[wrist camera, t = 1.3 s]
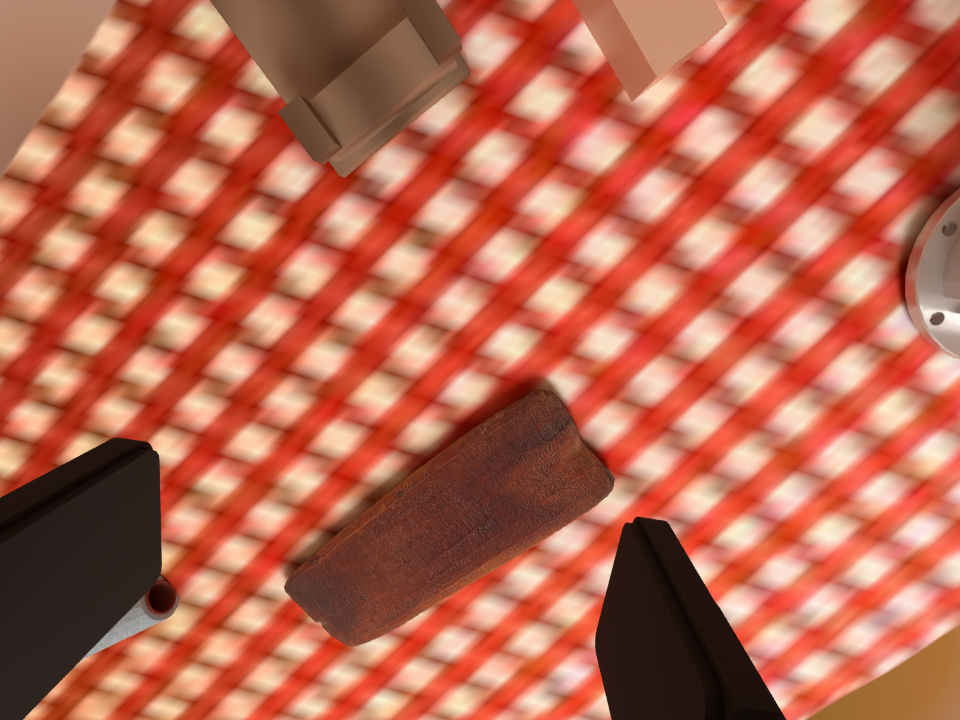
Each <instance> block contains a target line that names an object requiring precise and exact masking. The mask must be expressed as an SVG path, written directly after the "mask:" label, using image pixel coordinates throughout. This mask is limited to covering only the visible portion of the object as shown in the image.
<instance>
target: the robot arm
mask: <svg viewBox="0 0 960 720" xmlns="http://www.w3.org/2000/svg"><path fill="white" fill-rule="evenodd" d="M905 297H906V302H907V307H908V312H909V314H910V316H911V319H912V321H913V323H914V325H915V327H916V329H917V330H918V331H919V332H920V334H921V335H922V336H923V338H924V339H925V340H926V341H927V342H928V343H930V344H931V345H932V346H933V347H935V348H936V349H937V350H938V351H940V352H943V353H945V354H947V355H949V356H951V357H953V358H956V359H960V188H959V189H958V190H957V191H955V192H954V193H953V194H952V195H951V196H950V197H948V198H947V199H946V200H945V201H944V202H943V203H942V204H941V205H940V206H939V208H938V209H937V210H936V211H935V212H934V213H933V215H932V216H931V217H930V218H929V219H928V221H927V223H926V224H925V226H924V228H923V229H922V231H921V232H920V234H919V236H918V237H917V240H916V242H915V245H914V247H913V249H912V252H911V254H910V257H909V262H908V266H907V271H906V276H905ZM161 568H162V552H161V508H160V463H159V455H158V453H157V452H156V451H154V450H153V448H152V446H151V444H149V443H148V442H144V441H137V440H131V439H124V438H113V439H110V440H108V441H106V442H105V443H103V444H101V445H99V446H97V447H95V448H93V449H91V450H89V451H88V452H86V453H84V454H82V455H80V456H78V457H76V458H74V459H73V460H71V461H69V462H67V463H65V464H63V465H61V466H59V467H57V468H56V469H54V470H52V471H50V472H48V473H46V474H44V475H42V476H40V477H39V478H37V479H35V480H33V481H31V482H29V483H27V484H25V485H23V486H22V487H20V488H18V489H16V490H14V491H12V492H10V493H8V494H6V495H5V496H3V497H1V498H0V720H23V719H24V718H25V717H26V716H27V715H28V714H29V713H30V712H31V711H32V710H33V709H34V708H35V707H36V706H37V704H38V703H39V702H40V701H41V700H42V699H43V698H44V697H45V696H46V695H47V694H48V693H49V692H50V691H51V690H52V689H53V688H54V687H55V686H56V685H57V684H58V683H59V682H60V681H61V680H62V679H63V678H64V677H65V676H66V675H67V674H68V673H69V672H70V671H71V670H72V669H73V668H74V667H75V666H76V665H77V664H78V663H79V662H80V661H81V660H82V658H83V657H84V656H85V655H86V654H87V653H88V652H89V651H90V650H91V649H92V648H93V647H94V646H95V645H96V644H97V643H98V642H99V641H100V640H101V639H102V638H103V637H104V636H105V635H106V634H107V633H108V632H109V631H110V630H111V629H112V628H113V627H114V626H115V625H116V624H117V623H118V622H119V621H120V620H121V619H122V618H123V617H124V616H125V615H126V613H127V612H128V611H129V610H130V609H131V608H132V607H133V606H134V605H135V604H136V603H137V602H138V601H139V600H140V599H141V598H142V597H143V596H144V595H145V594H146V593H147V592H148V591H149V590H150V589H151V588H152V587H153V586H154V584H155V583H156V581H157V580H158V578H159V575H160V572H161ZM595 648H596V655H597V659H598V664H599V668H600V672H601V676H602V681H603V685H604V689H605V693H606V697H607V702H608V706H609V710H610V714H611V719H612V720H786V718H785V717H784V715H783V713H782V712H781V710H780V708H779V707H778V705H777V703H776V702H775V700H774V698H773V697H772V695H771V693H770V691H769V690H768V688H767V686H766V685H765V683H764V681H763V680H762V678H761V676H760V675H759V673H758V671H757V670H756V668H755V666H754V665H753V663H752V661H751V660H750V658H749V656H748V655H747V653H746V651H745V650H744V648H743V646H742V644H741V643H740V641H739V639H738V638H737V636H736V634H735V633H734V631H733V629H732V628H731V626H730V624H729V623H728V621H727V619H726V618H725V616H724V614H723V613H722V611H721V609H720V608H719V606H718V605H717V604H716V602H715V601H714V599H713V598H712V596H711V594H710V593H709V591H708V589H707V587H706V586H705V584H704V582H703V581H702V579H701V577H700V576H699V574H698V572H697V571H696V569H695V567H694V566H693V564H692V562H691V561H690V559H689V557H688V555H687V554H686V552H685V550H684V549H683V547H682V545H681V544H680V542H679V540H678V539H677V537H676V535H675V534H674V532H673V530H672V528H671V527H670V525H669V524H668V523H667V521H663V520H656V519H650V518H643V517H636V518H635V519H634V521H633V523H625V525H624V526H623V529H622V533H621V537H620V541H619V545H618V549H617V553H616V556H615V560H614V564H613V568H612V572H611V576H610V580H609V584H608V588H607V592H606V595H605V599H604V603H603V607H602V611H601V615H600V619H599V623H598V627H597V631H596V637H595Z"/></svg>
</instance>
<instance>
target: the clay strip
mask: <svg viewBox="0 0 960 720" xmlns="http://www.w3.org/2000/svg"><path fill="white" fill-rule="evenodd" d="M572 2H573V4H574V5H575V7H576V9H577V10H578V12H579V14H580V15H581V17H582V19H583V21H584V22H585V24H586V26H587V27H588V29H589V31H590V32H591V34H592V36H593V37H594V39H595V41H596V42H597V44H598V46H599V47H600V49H601V51H602V52H603V54H604V56H605V57H606V59H607V61H608V62H609V64H610V66H611V67H612V69H613V71H614V72H615V74H616V76H617V77H618V79H619V81H620V82H621V84H622V86H623V87H624V89H625V91H626V92H627V94H628V96H629V98H630V99H631V101H632V102H633V101H634V100H635V99H637V98H638V97H639V96H641V95H642V94H643V93H645V92H646V91H647V90H649V89H650V88H651V87H653V86H654V85H655V84H656V83H658V82H659V81H660V80H662V79H663V78H664V77H666V76H667V75H668V74H670V73H671V72H672V71H674V70H675V69H676V68H678V67H679V66H680V65H682V64H683V63H684V62H686V61H687V60H688V59H689V58H691V57H692V56H693V55H694V54H695V53H696V52H697V51H698V50H699V49H701V48H702V47H703V46H704V45H705V44H706V43H707V42H708V41H709V40H710V39H711V38H712V37H714V36H715V35H716V34H717V33H718V32H719V31H720V30H721V29H722V28H723V27H724V26H726V25H727V23H726V21H725V19H724V17H723V15H722V14H721V12H720V10H719V8H718V6H717V4H716V2H715V1H714V0H572Z"/></svg>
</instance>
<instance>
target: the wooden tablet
mask: <svg viewBox="0 0 960 720" xmlns="http://www.w3.org/2000/svg"><path fill="white" fill-rule="evenodd" d="M614 481H615V478H614V475H613V474H612V472H611V471H610V470H609V469H608V468H607V467H606V466H605V465H604V464H603V463H602V462H601V461H600V460H599V459H598V458H597V457H596V455H595V454H594V453H592V452H591V451H590V450H589V449H588V448H587V447H586V446H585V444H584V443H583V442H582V441H581V439H580V437H579V434H578V430H577V428H576V425H575V423H574V421H573V419H572V417H571V416H570V414H569V412H568V411H567V409H566V408H565V406H564V405H563V403H562V402H561V401H560V400H559V398H558V397H557V396H556V395H555V394H554V393H553V392H550V391H546V390H537V391H533V392H531V393H530V394H528V395H526V396H524V397H523V398H522V399H519V400H517V401H516V402H514V403H512V404H511V405H509V406H507V407H505V408H504V409H502V410H501V411H499V412H497V413H496V414H494V415H493V416H491V417H490V418H488V419H487V420H486V421H484V422H482V423H481V424H479V425H478V426H477V427H475V428H473V429H472V430H470V431H469V432H467V433H466V434H465V435H463V436H462V437H460V438H459V439H457V440H456V441H455V442H453V443H452V444H451V445H449V446H448V447H447V448H445V449H444V450H443V451H441V452H440V453H439V454H437V455H436V456H435V457H433V458H432V459H431V460H429V461H428V462H427V463H425V464H424V465H423V466H421V467H420V468H419V469H417V470H416V471H415V472H413V473H412V474H411V475H410V476H409V477H407V478H406V479H405V480H404V481H403V482H401V483H400V484H399V485H398V486H396V487H395V488H394V489H392V490H391V491H390V492H389V493H387V494H386V495H385V496H384V497H382V498H381V499H380V500H378V501H377V502H376V503H375V504H373V505H372V506H371V507H370V508H369V509H367V510H366V511H365V512H364V513H362V514H361V515H360V516H359V517H357V518H356V519H355V520H354V521H353V522H351V523H350V524H349V525H348V526H346V527H345V528H344V529H343V530H341V531H340V532H339V533H338V534H337V535H335V536H334V537H333V538H332V539H330V540H329V541H328V542H327V543H326V544H324V545H323V546H322V547H321V548H319V549H318V551H317V553H316V554H313V555H311V556H310V557H309V558H308V559H307V560H306V561H305V562H304V563H303V564H302V565H301V566H299V567H298V568H297V569H296V570H295V571H294V573H293V574H292V575H291V576H290V577H289V579H288V580H287V582H286V584H285V586H284V588H285V591H286V593H287V594H288V595H289V596H290V597H291V598H292V600H293V601H294V602H296V603H297V604H298V605H299V606H300V607H301V608H302V609H303V610H304V611H305V612H306V613H307V614H308V615H309V616H310V617H311V618H312V619H313V620H314V621H315V622H321V624H322V627H323V628H324V629H325V630H326V631H327V632H328V633H329V634H330V635H331V636H333V637H334V638H336V639H337V640H339V641H340V642H342V643H343V644H345V645H347V646H350V647H353V646H358V645H361V644H364V643H367V642H369V641H371V640H374V639H376V638H379V637H381V636H383V635H385V634H387V633H389V632H391V631H393V630H394V629H396V628H398V627H400V626H401V625H403V624H405V623H406V622H407V621H409V620H411V619H413V618H414V617H416V616H417V615H418V614H420V613H422V612H423V611H425V610H427V609H428V608H430V607H432V606H433V605H435V604H437V603H439V602H440V601H442V600H444V599H445V598H447V597H449V596H451V595H453V594H454V593H455V592H457V591H459V590H461V589H462V588H464V587H466V586H467V585H469V584H471V583H473V582H475V581H477V580H479V579H480V578H482V577H483V576H485V575H486V574H488V573H490V572H492V571H494V570H495V569H497V568H499V567H501V566H502V565H504V564H505V563H507V562H509V561H511V560H512V559H514V558H516V557H517V556H519V555H521V554H522V553H524V552H525V551H527V550H528V549H530V548H532V547H534V546H536V545H537V544H539V543H540V542H541V541H543V540H544V539H546V538H547V537H549V536H551V535H553V534H554V533H555V532H557V531H559V530H560V529H562V528H563V527H565V526H566V525H568V524H570V523H571V522H572V521H574V520H576V519H577V518H579V517H580V516H582V515H583V514H584V513H586V512H588V511H589V510H591V509H592V508H593V507H595V506H596V505H597V504H598V503H600V502H601V501H602V500H603V499H604V498H605V497H607V496H608V495H609V493H610V492H611V491H612V489H613V487H614Z"/></svg>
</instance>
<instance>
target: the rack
mask: <svg viewBox="0 0 960 720" xmlns="http://www.w3.org/2000/svg"><path fill="white" fill-rule="evenodd" d="M210 1H211V2H212V4H213V5H214V6H215V8H216V9H217V11H218V12H219V13H220V15H221V16H222V17H223V19H224V20H225V21H226V23H227V24H228V25H229V27H230V28H231V29H232V31H233V32H234V34H235V35H236V36H237V38H238V39H239V40H240V42H241V43H242V44H243V46H244V47H245V48H246V50H247V51H248V52H249V54H250V55H251V57H252V58H253V59H254V61H255V62H256V63H257V65H258V66H259V67H260V69H261V70H262V71H263V73H264V74H265V75H266V77H267V78H268V80H269V81H270V82H271V84H272V85H273V86H274V88H275V89H276V90H277V92H278V93H279V94H280V96H281V97H282V99H283V100H284V101H285V103H286V104H287V105H285V106H284V107H283V108H282V109H281V110H280V111H279V112H278V113H279V115H280V116H281V117H282V119H283V120H284V121H285V123H286V124H287V125H288V127H289V128H290V129H291V131H292V132H293V133H294V135H295V136H296V137H297V139H298V140H299V141H300V143H301V144H302V146H303V147H304V148H305V150H306V151H307V152H308V154H309V155H310V156H311V158H312V159H313V160H314V161H316V162H319V163H321V164H324V163H326V162H327V161H329V162H330V163H331V165H332V166H333V168H334V169H335V170H336V172H337V173H338V174H339V176H341V177H344V178H345V177H346V176H347V175H348V174H350V173H351V172H352V171H353V170H355V169H356V168H357V167H358V166H359V165H361V164H362V163H363V162H364V161H366V160H367V159H368V158H369V157H370V156H372V155H373V154H374V153H375V152H377V151H378V150H379V149H380V148H382V147H383V146H384V145H385V144H386V143H388V142H389V141H390V140H391V139H393V138H394V137H395V136H396V135H397V134H399V133H400V132H401V131H402V130H404V129H405V128H406V127H407V126H408V125H410V124H411V123H412V122H413V121H415V120H416V119H417V118H418V117H419V116H421V115H422V114H423V113H424V112H426V111H427V110H428V109H429V108H430V107H432V106H433V105H434V104H435V103H437V102H438V101H439V100H440V99H441V98H443V97H444V96H445V95H446V94H448V93H449V92H450V91H451V90H452V89H454V88H455V87H456V86H457V85H459V84H460V83H461V82H462V81H463V80H465V79H466V78H467V77H468V76H470V69H469V68H468V66H467V65H466V63H465V62H464V60H463V58H462V57H461V55H460V54H459V51H460V50H461V49H462V46H461V41H460V37H459V36H458V34H457V33H456V31H455V30H454V28H453V26H452V25H451V23H450V22H449V20H448V19H447V17H446V16H445V14H444V13H443V11H442V9H441V8H440V6H439V5H438V3H437V2H436V0H210Z"/></svg>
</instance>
